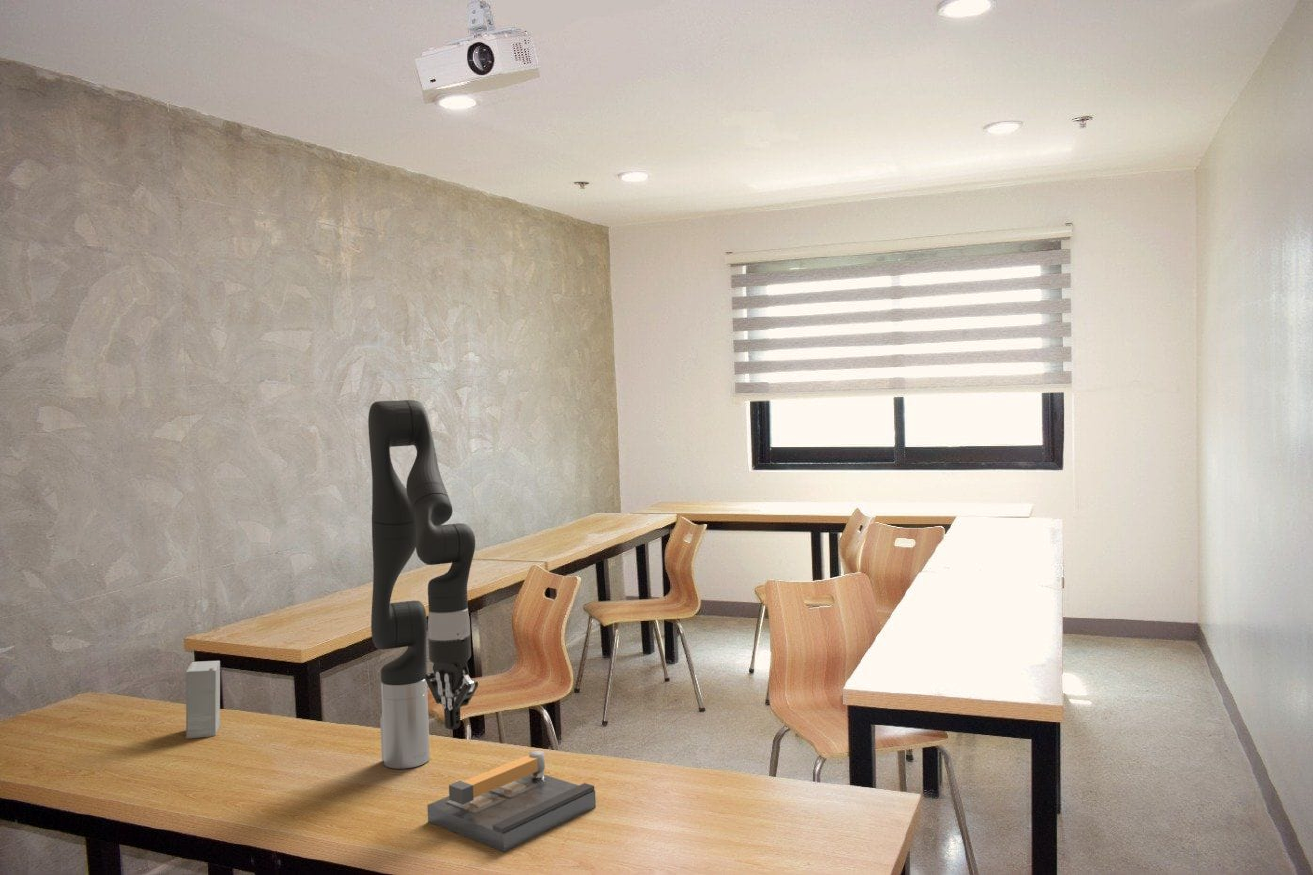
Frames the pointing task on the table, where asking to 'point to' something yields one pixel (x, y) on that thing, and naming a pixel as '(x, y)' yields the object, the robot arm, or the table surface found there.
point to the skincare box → (202, 699)
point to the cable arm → (496, 777)
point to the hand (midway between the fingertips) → (452, 728)
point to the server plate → (514, 810)
